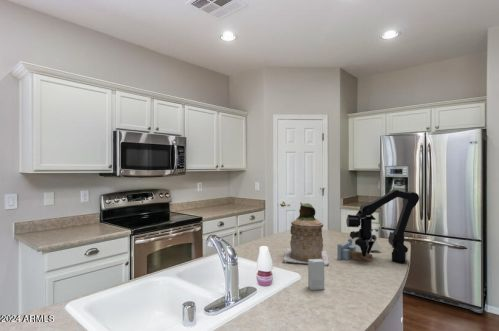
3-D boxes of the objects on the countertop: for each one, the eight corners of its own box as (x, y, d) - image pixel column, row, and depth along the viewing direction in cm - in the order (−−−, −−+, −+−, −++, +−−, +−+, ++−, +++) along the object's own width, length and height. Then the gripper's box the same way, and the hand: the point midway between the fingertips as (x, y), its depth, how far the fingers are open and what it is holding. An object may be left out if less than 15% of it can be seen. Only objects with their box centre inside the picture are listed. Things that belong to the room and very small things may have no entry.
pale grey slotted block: (380, 256, 188) (370, 236, 199) (382, 248, 182) (372, 228, 193) (354, 260, 188) (346, 240, 199) (355, 253, 182) (347, 232, 193)
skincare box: (321, 285, 131) (321, 258, 131) (324, 290, 127) (324, 261, 127) (307, 286, 131) (307, 258, 131) (310, 290, 126) (310, 261, 126)
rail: (372, 260, 167) (372, 254, 167) (370, 262, 164) (370, 255, 164) (349, 256, 175) (349, 250, 175) (347, 257, 173) (347, 251, 173)
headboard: (357, 253, 180) (357, 239, 180) (345, 261, 165) (345, 245, 165) (348, 252, 183) (348, 237, 183) (336, 259, 169) (336, 243, 169)
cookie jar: (329, 266, 156) (330, 205, 156) (282, 263, 161) (282, 204, 161) (327, 253, 181) (327, 200, 181) (286, 250, 186) (286, 199, 186)
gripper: (357, 223, 180) (357, 249, 180) (345, 228, 165) (345, 256, 165) (376, 225, 173) (376, 252, 173) (366, 230, 158) (366, 260, 158)
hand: (366, 255), depth 168 cm, fingers open, 6 cm apart
